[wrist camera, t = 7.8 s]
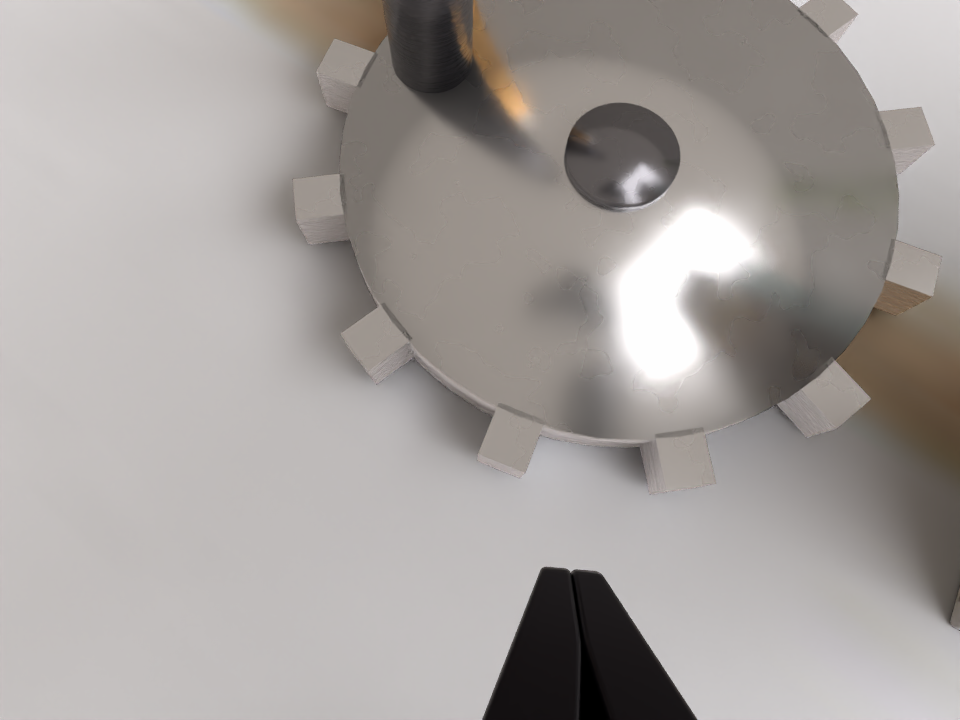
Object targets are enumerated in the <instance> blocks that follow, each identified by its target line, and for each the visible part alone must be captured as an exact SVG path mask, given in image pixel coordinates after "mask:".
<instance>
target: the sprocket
mask: <svg viewBox="0 0 960 720" xmlns="http://www.w3.org/2000/svg"><path fill="white" fill-rule="evenodd" d="M382 2H383V8H384V15H385V21H386V28H387V34H388V35H387V36H386V37H385V39H384V40H383V41H382V42H381V44H380V45H379V47H378V48H377V50H376V52H375V53H374V52H371V51H369V50H366V49H363V48H360V47H357V46H355V45H352V44H349V43H346V42H344V41H341V40H338V39H335V38H334V40H333V42H332V44H331V45H330V47H329V49H328V51H327V53H326V54H325V56H324V58H323V60H322V62H321V64H320V65H319V67H318V69H317V71H316V73H317V77H318V80H319V83H320V86H321V89H322V92H323V95H324V98H325V101H326V105H327V106H329V107H331V108H334V109H337V110H339V111H342V112H345V113H348V114H347V117H346V121H345V124H344V128H343V135H342V143H341V151H340V159H339V169H340V174H331V175H323V176H314V177H305V178H297V179H293V191H294V204H295V217H296V222H297V223H298V225H299V227H300V229H301V231H302V233H303V235H304V236H305V238H306V240H307V242H308V244H309V245H311V244H320V243H328V242H336V241H345V240H350V242H351V245H352V248H353V251H354V254H355V257H356V260H357V263H358V265H359V268H360V270H361V273H362V275H363V278H364V280H365V283H366V285H367V287H368V289H369V291H370V293H371V295H372V297H373V299H374V301H375V303H376V305H377V308H376V309H374V310H373V311H372V312H370V313H369V314H367V315H366V316H365V317H363V318H362V319H360V320H359V321H357V322H356V323H355V324H353V325H352V326H350V327H349V328H348V329H346V330H345V331H343V332H342V333H341V334H340V335H341V336H342V338H343V339H344V341H345V343H346V344H347V346H348V348H349V349H350V351H351V352H352V353H353V355H354V356H355V357H356V359H357V360H358V361H359V363H360V364H361V365H362V367H363V368H364V369H365V370H366V372H367V373H368V374H369V376H370V377H371V378H372V380H373V381H374V382H375V384H376V385H377V384H378V383H380V382H381V381H382V380H384V379H385V378H386V377H388V376H389V375H390V374H392V373H393V372H394V371H396V370H397V369H399V368H400V367H401V366H403V365H404V364H405V363H407V362H408V361H409V360H411V359H412V358H415V359H416V360H417V361H418V362H419V363H420V365H421V366H422V367H423V368H424V369H425V370H427V371H428V372H429V373H430V374H431V375H433V376H434V377H435V378H436V379H437V380H438V381H440V382H441V383H442V384H443V385H444V386H445V387H447V388H448V389H449V390H450V391H452V392H453V393H455V394H456V395H458V396H459V397H461V398H462V399H464V400H465V401H467V402H469V403H470V404H472V405H473V406H475V407H476V408H478V409H479V410H481V411H483V412H485V413H487V414H489V415H491V416H493V418H492V420H491V423H490V425H489V428H488V430H487V433H486V435H485V438H484V440H483V442H482V445H481V447H480V450H479V452H478V457H477V461H478V462H481V463H483V464H486V465H488V466H491V467H493V468H495V469H498V470H500V471H503V472H505V473H508V474H510V475H513V476H515V477H518V478H521V477H522V476H523V475H524V474H525V472H526V470H527V467H528V464H529V462H530V459H531V456H532V454H533V451H534V449H535V446H536V443H537V441H538V438H539V435H541V436H544V437H547V438H550V439H555V440H560V441H566V442H571V443H576V444H581V445H587V446H601V447H618V448H631V447H640V450H641V455H642V460H643V465H644V470H645V475H646V480H647V485H648V490H649V494H650V495H651V494H658V493H664V492H671V491H678V490H685V489H692V488H697V487H702V486H707V485H711V484H716V481H715V476H714V472H713V468H712V463H711V459H710V454H709V450H708V446H707V441H706V437H705V435H707V434H710V433H713V432H715V431H718V430H721V429H724V428H726V427H729V426H732V425H734V424H737V423H739V422H741V421H744V420H746V419H749V418H751V417H753V416H756V415H758V414H759V413H761V412H763V411H765V410H767V409H769V408H771V407H773V406H775V405H776V404H777V406H778V407H779V408H780V409H781V410H782V411H783V412H784V413H785V414H786V415H787V417H788V418H789V419H790V420H791V421H792V422H793V423H794V424H795V425H796V427H797V428H798V429H799V430H800V431H801V432H802V433H803V434H804V435H805V436H806V438H807V437H811V436H814V435H818V434H821V433H824V432H828V431H831V430H835V429H838V428H839V427H840V426H841V425H842V424H843V423H844V422H846V421H847V420H848V419H849V418H850V417H851V416H852V415H853V414H855V413H856V412H857V411H858V410H859V409H860V408H861V407H863V406H864V405H865V404H866V403H867V402H868V401H869V400H871V398H870V397H869V396H868V395H867V394H866V393H865V392H864V391H863V389H862V388H861V387H860V386H859V385H858V384H857V383H856V382H855V381H854V380H853V379H852V378H851V377H850V376H849V375H848V374H847V372H846V371H845V370H844V369H843V368H842V367H841V366H840V365H839V364H838V363H837V362H836V361H835V360H836V359H837V358H838V357H839V356H840V355H841V354H842V353H843V352H844V351H845V349H846V348H847V347H848V345H849V344H850V343H851V341H852V340H853V339H854V337H855V336H856V335H857V333H858V332H859V330H860V329H861V328H862V326H863V325H864V324H865V322H866V320H867V319H868V317H869V315H870V313H871V311H872V309H873V307H874V308H877V309H879V310H882V311H885V312H887V313H890V314H893V315H896V316H897V315H898V314H900V313H902V312H904V311H906V310H908V309H910V308H912V307H914V306H916V305H918V304H920V303H922V302H924V301H925V300H927V299H929V298H931V297H933V294H934V289H935V285H936V281H937V277H938V272H939V268H940V264H941V260H942V256H939V255H936V254H933V253H931V252H928V251H925V250H922V249H919V248H917V247H914V246H911V245H908V244H906V243H903V242H900V241H897V240H896V236H897V230H898V205H899V192H898V184H897V176H896V174H900V173H901V172H903V171H904V170H905V169H906V168H907V167H909V166H910V165H911V164H912V163H913V162H915V161H916V160H917V159H918V158H919V157H921V156H922V155H923V154H924V153H925V152H927V151H928V150H929V149H930V148H931V147H932V146H934V145H935V144H934V141H933V138H932V136H931V133H930V130H929V127H928V124H927V122H926V119H925V116H924V113H923V111H922V108H921V107H916V108H907V109H898V110H890V111H881V112H879V111H878V109H877V107H876V104H875V102H874V100H873V98H872V96H871V94H870V93H869V91H868V89H867V88H866V86H865V84H864V82H863V81H862V79H861V77H860V75H859V74H858V72H857V71H856V69H855V68H854V67H853V65H852V64H851V63H850V61H849V60H848V59H847V57H846V56H845V55H844V53H843V52H842V51H841V49H840V48H839V47H838V45H837V44H836V43H837V42H838V41H839V39H840V38H841V37H842V35H843V34H844V33H845V31H846V30H847V29H848V27H849V26H850V25H851V23H852V22H853V21H854V19H855V18H856V17H857V15H858V14H857V13H856V12H855V11H854V10H853V9H852V8H851V7H850V6H849V5H847V4H846V3H845V2H844V1H843V0H810V1H808V2H807V3H806V4H804V5H803V6H801V7H800V8H798V7H797V6H796V5H794V4H793V3H792V2H791V1H790V0H382Z"/></svg>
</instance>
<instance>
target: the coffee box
mask: <svg viewBox="0 0 960 720" xmlns="http://www.w3.org/2000/svg"><path fill="white" fill-rule="evenodd" d="M950 621H951V625H952V627H954V628H956V629H957V630H959V631H960V587H959V591H958V595H957V599H956V602H955V606H954V609H953V613H952V617H951V620H950Z"/></svg>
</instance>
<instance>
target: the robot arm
mask: <svg viewBox="0 0 960 720" xmlns="http://www.w3.org/2000/svg"><path fill="white" fill-rule="evenodd" d="M482 720H697V718H696V717H695V715H694V714H693V712H692V711H691V709H690V708H689V706H688V705H687V703H686V702H685V700H684V699H683V697H682V695H681V694H680V692H679V691H678V689H677V688H676V686H675V685H674V683H673V682H672V680H671V679H670V677H669V676H668V674H667V673H666V671H665V670H664V668H663V667H662V665H661V663H660V662H659V660H658V659H657V657H656V656H655V654H654V653H653V651H652V650H651V648H650V647H649V645H648V644H647V642H646V641H645V639H644V638H643V636H642V635H641V633H640V631H639V630H638V628H637V627H636V625H635V624H634V622H633V621H632V619H631V618H630V616H629V615H628V613H627V612H626V610H625V609H624V607H623V606H622V604H621V602H620V601H619V599H618V598H617V596H616V595H615V593H614V592H613V590H612V589H611V587H610V586H609V584H608V583H607V581H606V580H605V578H604V577H603V575H602V574H601V573H599V572H597V571H588V570H577V569H576V570H573V571H572V572H571V573H570V571H569V570H568V569H565V568H554V567H543V568H542V569H541V570H540V573H539V575H538V578H537V580H536V583H535V585H534V588H533V591H532V593H531V596H530V598H529V601H528V603H527V606H526V608H525V611H524V614H523V616H522V619H521V621H520V624H519V626H518V629H517V632H516V634H515V637H514V639H513V642H512V644H511V647H510V649H509V652H508V655H507V657H506V660H505V662H504V665H503V667H502V670H501V673H500V675H499V678H498V680H497V683H496V685H495V688H494V690H493V693H492V696H491V698H490V701H489V703H488V706H487V708H486V711H485V714H484V716H483V719H482Z"/></svg>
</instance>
